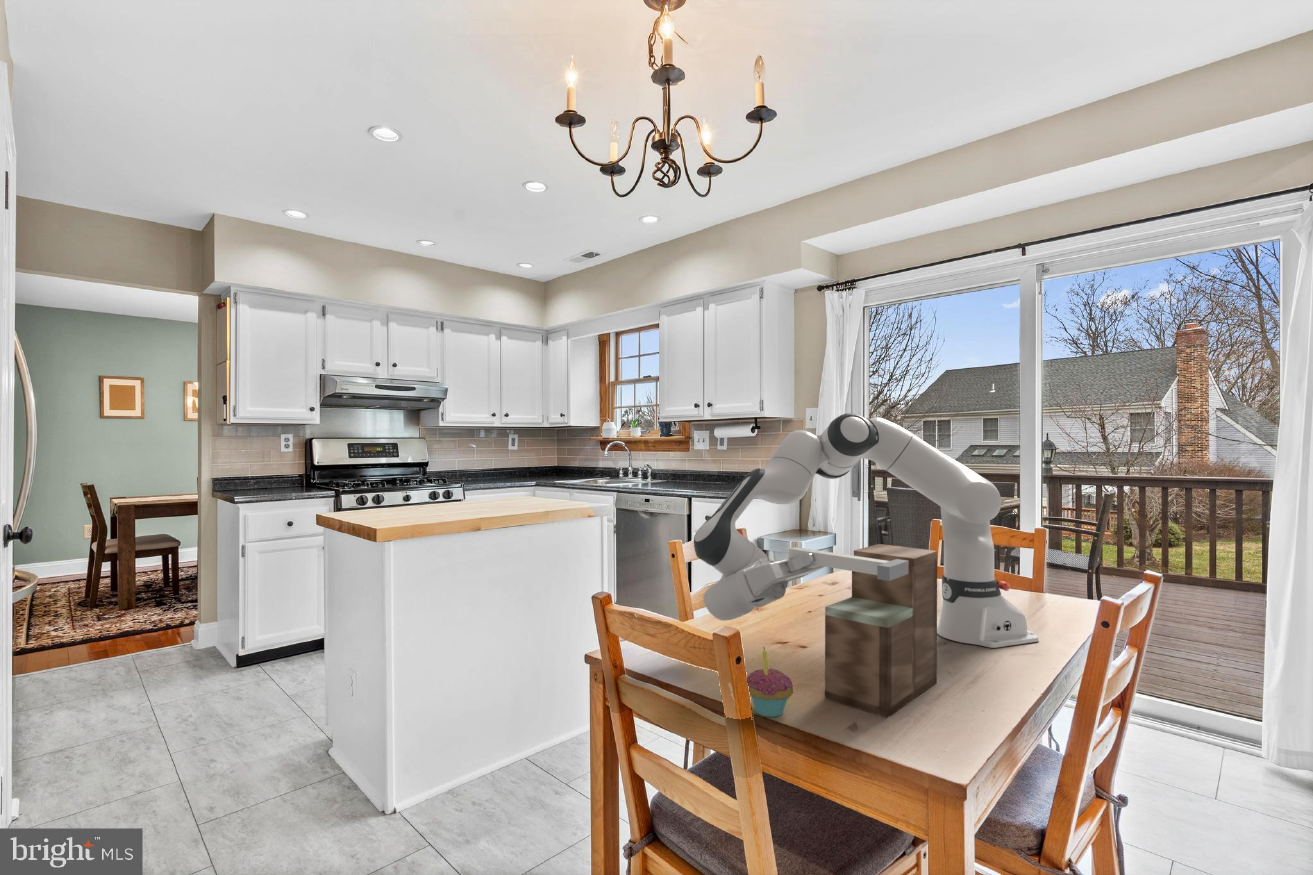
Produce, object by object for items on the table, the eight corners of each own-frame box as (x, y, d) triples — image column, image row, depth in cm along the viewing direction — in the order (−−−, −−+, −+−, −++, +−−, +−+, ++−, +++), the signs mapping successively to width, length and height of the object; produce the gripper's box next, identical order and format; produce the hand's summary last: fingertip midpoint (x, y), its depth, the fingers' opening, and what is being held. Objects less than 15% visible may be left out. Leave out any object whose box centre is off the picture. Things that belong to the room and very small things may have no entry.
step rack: (824, 698, 122) (825, 558, 122) (878, 668, 138) (878, 543, 138) (887, 717, 114) (887, 567, 114) (936, 683, 130) (937, 551, 130)
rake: (780, 562, 130) (781, 550, 130) (802, 557, 135) (802, 545, 135) (889, 580, 115) (889, 567, 115) (908, 573, 120) (908, 560, 120)
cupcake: (782, 725, 111) (782, 654, 111) (736, 714, 115) (736, 645, 115) (800, 708, 118) (800, 641, 118) (756, 697, 123) (756, 633, 123)
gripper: (798, 586, 143) (850, 562, 135) (743, 604, 129) (797, 579, 120) (786, 559, 146) (836, 534, 137) (730, 574, 131) (782, 546, 122)
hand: (817, 555), depth 129 cm, fingers closed on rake, 2 cm apart
